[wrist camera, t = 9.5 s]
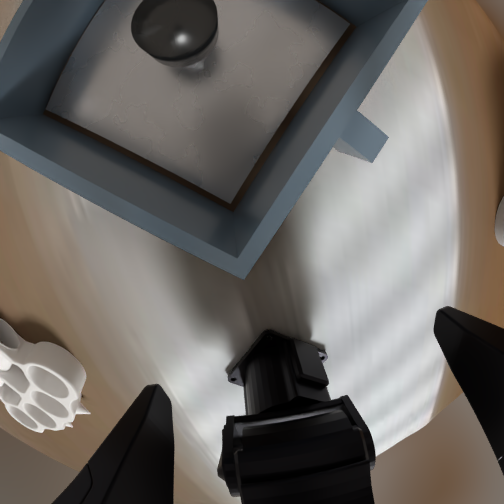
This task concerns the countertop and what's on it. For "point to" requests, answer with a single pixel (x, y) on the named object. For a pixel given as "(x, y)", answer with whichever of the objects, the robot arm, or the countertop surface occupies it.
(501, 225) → the cup
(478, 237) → the countertop surface
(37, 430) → the white muffin tray
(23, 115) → the blue grey open box
